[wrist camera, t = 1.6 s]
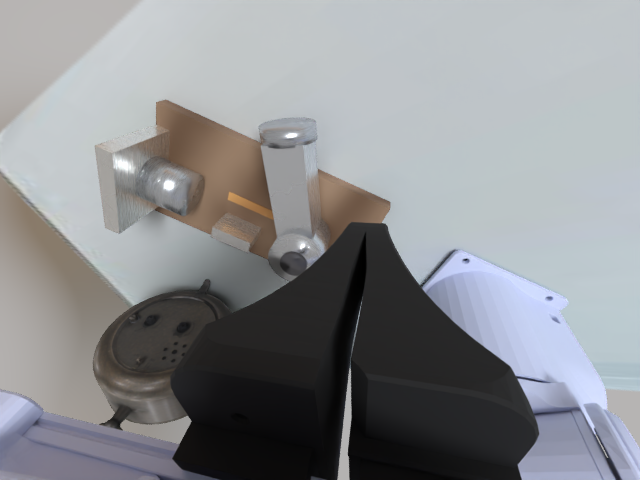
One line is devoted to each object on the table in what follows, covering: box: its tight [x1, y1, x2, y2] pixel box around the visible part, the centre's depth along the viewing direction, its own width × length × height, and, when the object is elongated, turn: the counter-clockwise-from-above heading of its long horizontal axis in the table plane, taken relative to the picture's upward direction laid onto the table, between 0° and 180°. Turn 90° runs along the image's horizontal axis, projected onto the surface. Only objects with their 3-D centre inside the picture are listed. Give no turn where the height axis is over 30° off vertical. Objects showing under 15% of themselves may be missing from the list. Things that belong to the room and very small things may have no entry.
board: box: [155, 100, 390, 259], centre depth 22 cm, size 17×9×1 cm, turn 70°
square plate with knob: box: [95, 125, 261, 253], centre depth 20 cm, size 9×6×5 cm, turn 70°
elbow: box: [259, 118, 331, 281], centre depth 18 cm, size 10×4×4 cm, turn 5°
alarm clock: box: [93, 280, 232, 431], centre depth 24 cm, size 11×5×16 cm, turn 85°
